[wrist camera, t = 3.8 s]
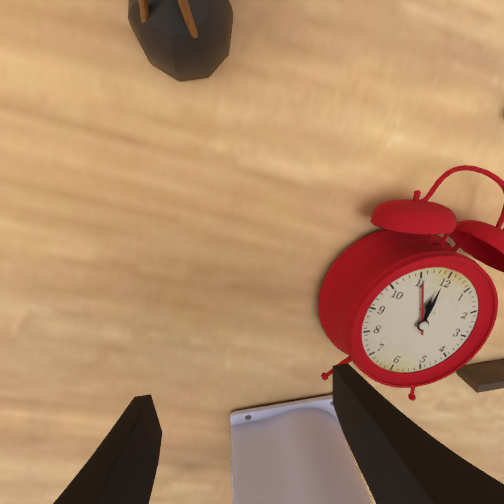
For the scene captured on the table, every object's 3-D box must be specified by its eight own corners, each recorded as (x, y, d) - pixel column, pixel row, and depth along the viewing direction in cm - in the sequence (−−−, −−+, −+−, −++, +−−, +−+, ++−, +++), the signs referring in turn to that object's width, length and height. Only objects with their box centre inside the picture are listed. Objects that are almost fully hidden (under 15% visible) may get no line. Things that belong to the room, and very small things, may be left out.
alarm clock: (301, 387, 17) (480, 157, 10) (288, 315, 23) (399, 131, 15) (434, 415, 19) (662, 242, 12) (393, 344, 25) (535, 193, 17)
